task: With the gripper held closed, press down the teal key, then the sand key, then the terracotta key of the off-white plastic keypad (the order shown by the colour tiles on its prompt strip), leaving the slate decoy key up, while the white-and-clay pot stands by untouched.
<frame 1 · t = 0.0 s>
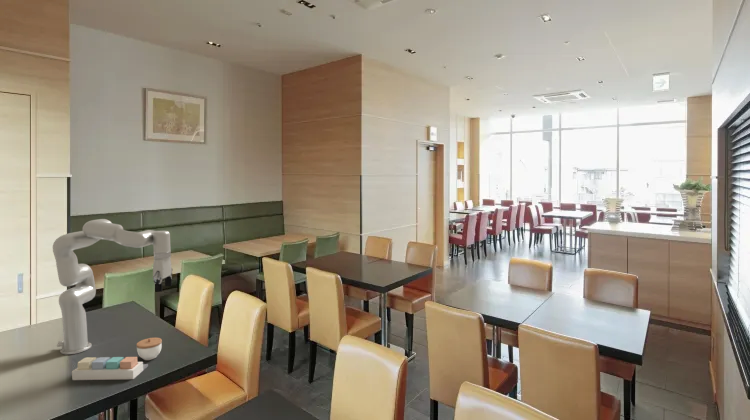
hand: (163, 288, 198), 31 cm above the table, fingers open, 9 cm apart
keypad: (108, 375, 173), on the table
lidded jar: (150, 357, 191), on the table
key S: (101, 365, 173), point 5 cm above the table, slide at 0.0 cm
key E: (87, 365, 173), point 5 cm above the table, slide at 0.0 cm
key T: (115, 364, 173), point 5 cm above the table, slide at 0.0 cm
key A: (128, 364, 173), point 5 cm above the table, slide at 0.0 cm
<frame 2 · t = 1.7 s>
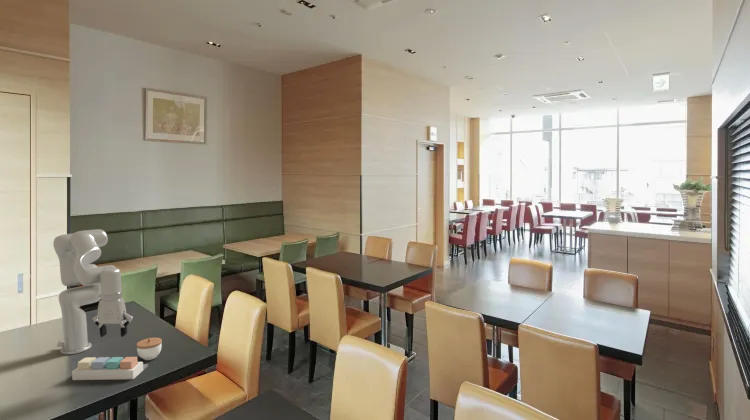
hand: (113, 335, 172), 18 cm above the table, fingers open, 8 cm apart
nothing on the table moved.
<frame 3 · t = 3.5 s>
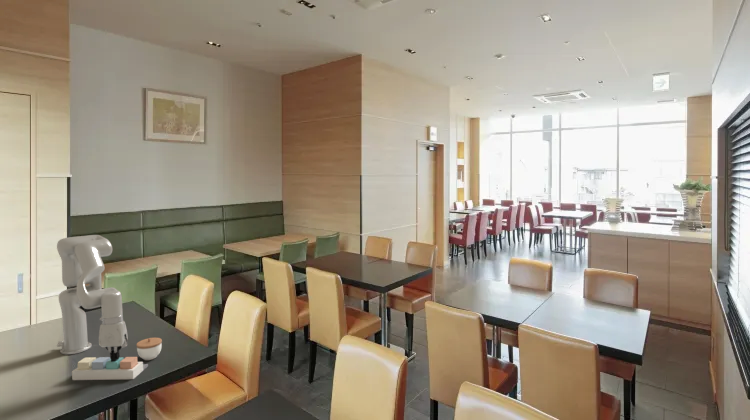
hand: (115, 360, 173), 7 cm above the table, fingers closed
key T: (115, 365, 173), point 4 cm above the table, slide at 0.2 cm, touching gripper
everything else where it was.
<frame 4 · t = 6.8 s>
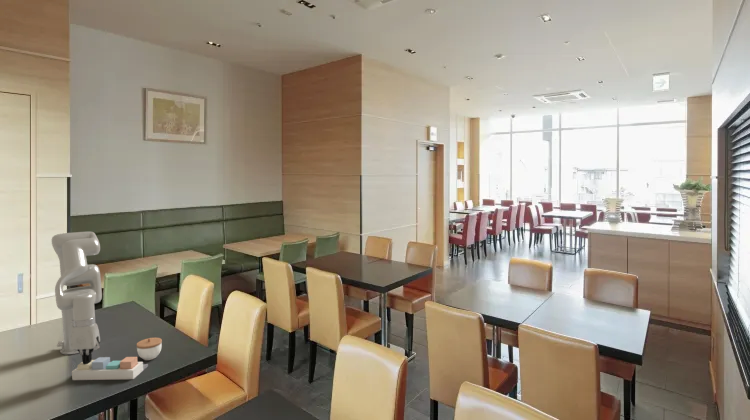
hand: (87, 362, 172), 6 cm above the table, fingers closed
key E: (87, 367, 173), point 3 cm above the table, slide at 1.2 cm, touching gripper
key T: (115, 368, 173), point 3 cm above the table, slide at 1.6 cm
everything else where it was.
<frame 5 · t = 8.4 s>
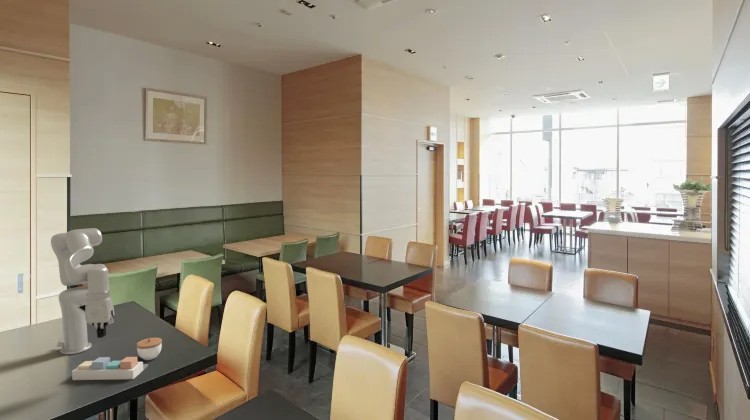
hand: (101, 336, 171), 18 cm above the table, fingers closed
key E: (87, 368, 173), point 3 cm above the table, slide at 1.6 cm
everything else where it was.
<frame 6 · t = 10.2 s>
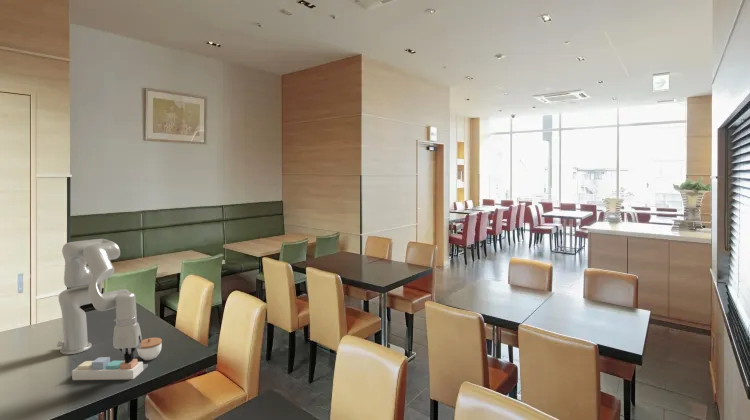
hand: (129, 361, 173), 6 cm above the table, fingers closed
key A: (129, 366, 173), point 4 cm above the table, slide at 1.0 cm, touching gripper
everything else where it was.
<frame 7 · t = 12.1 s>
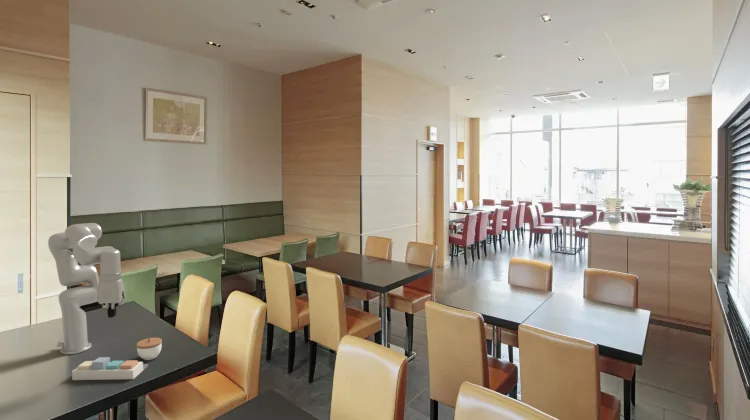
hand: (112, 316, 177), 25 cm above the table, fingers closed
key A: (129, 368, 173), point 3 cm above the table, slide at 1.6 cm
everything else where it was.
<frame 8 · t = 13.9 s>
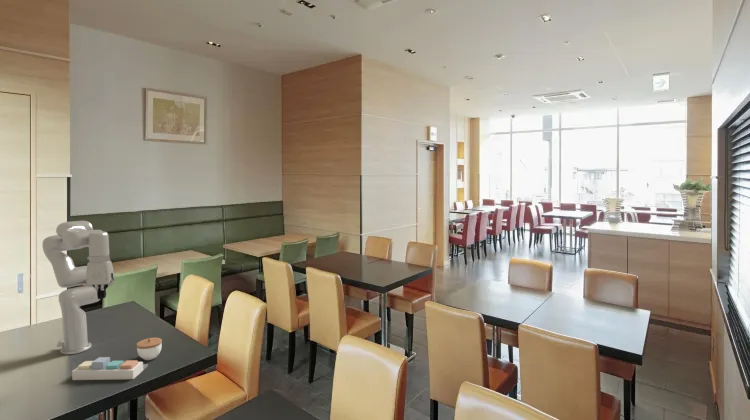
hand: (101, 298, 179), 32 cm above the table, fingers closed
nothing on the table moved.
at the end: key T slide at 1.6 cm; key E slide at 1.6 cm; key A slide at 1.6 cm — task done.
